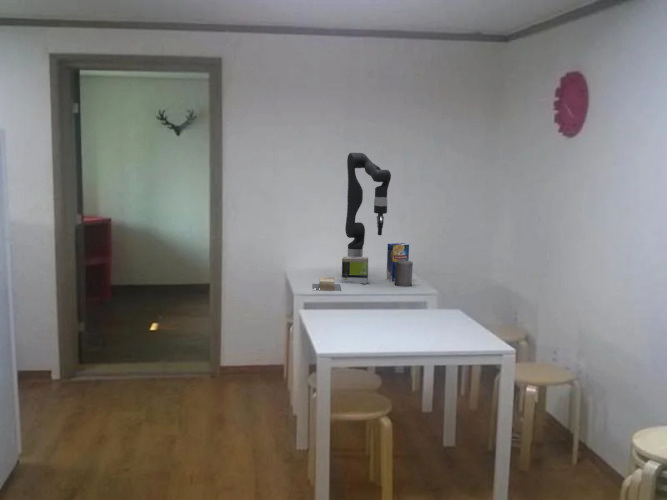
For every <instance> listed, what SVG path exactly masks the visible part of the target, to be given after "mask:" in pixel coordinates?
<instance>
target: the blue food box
mask: <svg viewBox="0 0 667 500" xmlns="http://www.w3.org/2000/svg"><path fill="white" fill-rule="evenodd" d="M386 253H387V254H386V278H385V279H386V281H389V282H391V283H393V282H394V283H395V277H396V261H400V260H404V259H405V261H410V260H409V258H410V244H409V243H405V242H399V243H398V242H396V243H387V252H386Z"/></svg>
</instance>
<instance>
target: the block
mask: <svg viewBox="0 0 667 500" xmlns="http://www.w3.org/2000/svg"><path fill="white" fill-rule="evenodd" d="M318 284H319V287H320V290H332V291H331V292H333V291H334V284H336V282H335V278H334V277H330V276H329V277H327V276H325V277H324V276H321V277H319V282H318ZM334 292H335V291H334Z"/></svg>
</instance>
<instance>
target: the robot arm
mask: <svg viewBox="0 0 667 500" xmlns="http://www.w3.org/2000/svg"><path fill="white" fill-rule="evenodd" d="M346 159H347V160H346V165H347V166H346V167H347V197H346V198H347V204H346V206H347V208H346V220H345V235H346V237H347V238H349V239H353V240H352V241H351V242H349V243H348V244H347V257H364V255H363V252H364V249H363V248H364V244H365V237H366V228H365V225H364V223H362V222H356V217H357V213H358V211H359V209H360V208H361V206H362V204H363V197H364V194H363V193H364V191H363V190H364V189H363V187H362V185H361V183H360V181H359V180H358V178H357V175H356V169H364V171H365V173H366V174H367V175H368V176H370V177H371V178H372V181H373V182H375V183H381V185H378V186H376V187H375V189H374V199H373V200H374V202H373V213H374V214H377V216H376V224H377V225H376V228H377V235H378V236H382V235H383V228H384V221H385V217H384V215H385V214H387V213H388V191H389V190H388V189H389V185H390V182H391V178H392V173H391V171H390V170H389V169H382V168H381V167H380V166H378V165H377V164H375V163H373V162H372V160H371V159H370V158H369V157H368V156H367V155H366V154H365V153H363V152H349V154H348V155H347V158H346Z"/></svg>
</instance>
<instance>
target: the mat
mask: <svg viewBox="0 0 667 500" xmlns="http://www.w3.org/2000/svg"><path fill="white" fill-rule="evenodd" d="M311 286H312V289H314V288H316V290H315V291H317V292H318V291H319V292H320V291H321V292H323V291H324V292H327V291H329V292H333V291H332V290H319V288H320V287H319V283H312V284H311ZM312 289H311V290H312ZM335 291H336V292H342V286H341V284H340V283H334V292H335Z"/></svg>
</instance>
